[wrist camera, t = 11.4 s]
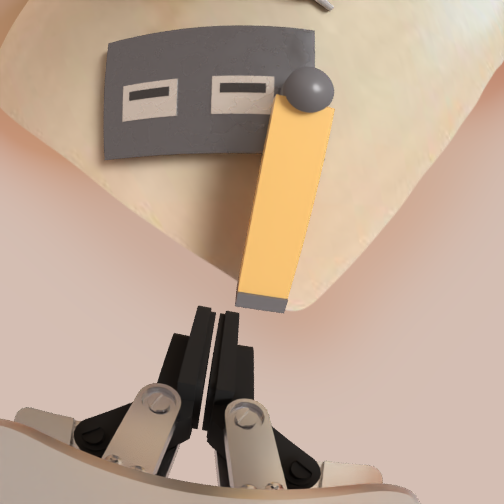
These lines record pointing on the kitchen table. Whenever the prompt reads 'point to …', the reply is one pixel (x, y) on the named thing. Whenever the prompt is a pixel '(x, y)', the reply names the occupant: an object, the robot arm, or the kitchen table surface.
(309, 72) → the bar
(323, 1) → the mobile phone
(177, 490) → the robot arm
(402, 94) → the kitchen table surface
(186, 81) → the plate
